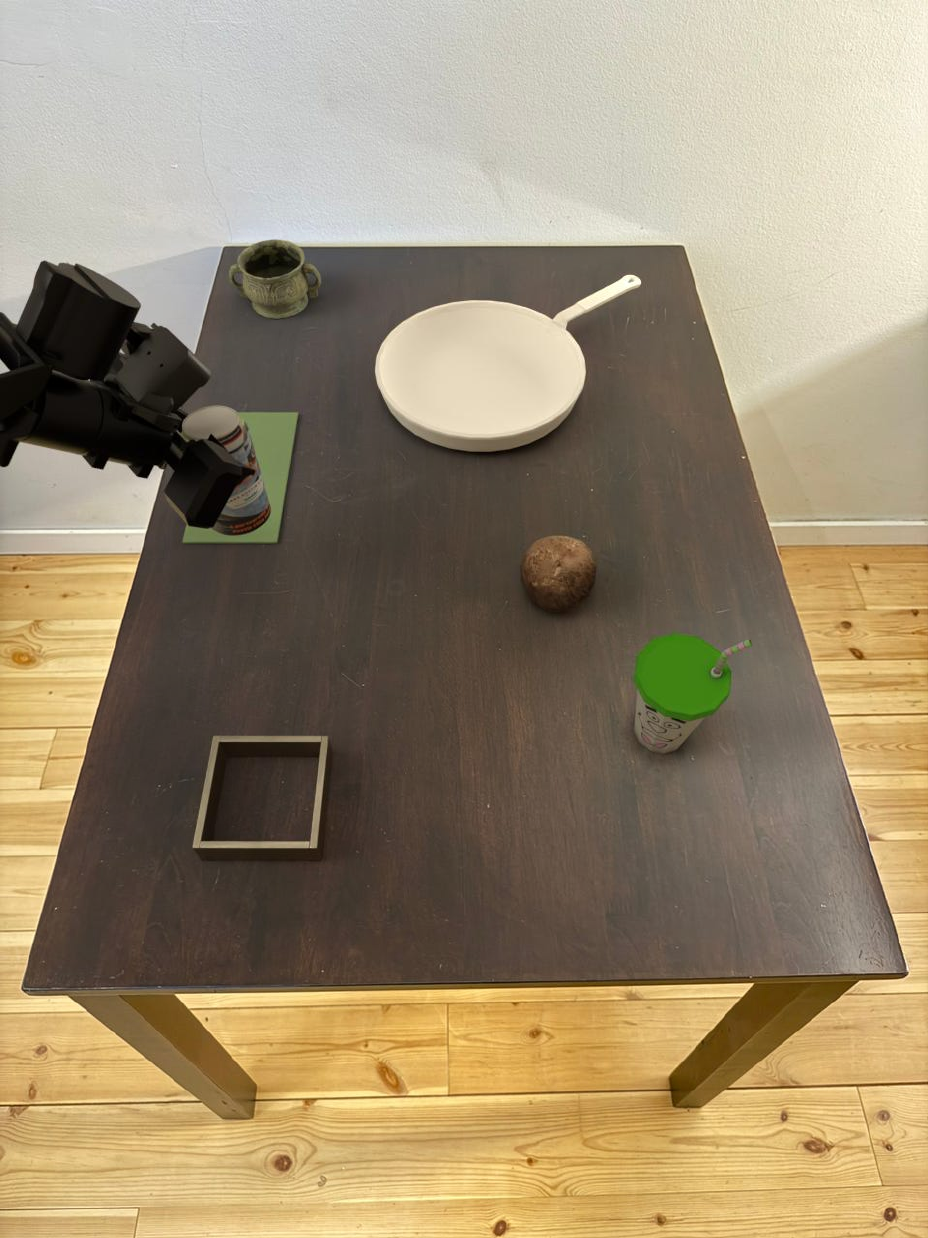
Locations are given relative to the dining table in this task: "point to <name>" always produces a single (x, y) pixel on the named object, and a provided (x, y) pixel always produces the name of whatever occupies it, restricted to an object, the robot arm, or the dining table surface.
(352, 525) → the dining table surface
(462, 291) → the dining table surface
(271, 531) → the green mat
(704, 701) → the cup
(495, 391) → the pan
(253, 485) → the beverage can
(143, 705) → the dining table surface
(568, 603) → the mushroom
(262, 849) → the frame
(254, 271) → the vessel
